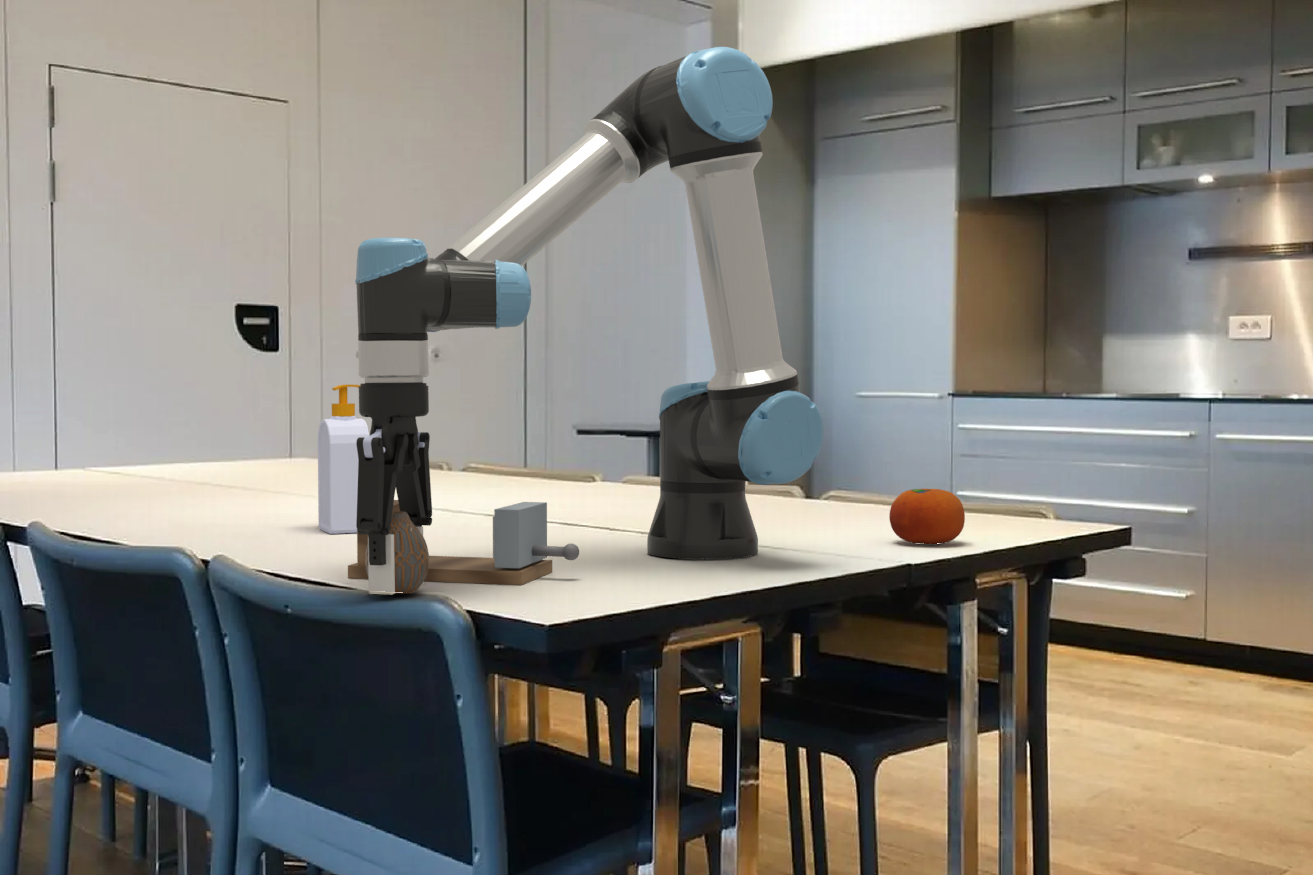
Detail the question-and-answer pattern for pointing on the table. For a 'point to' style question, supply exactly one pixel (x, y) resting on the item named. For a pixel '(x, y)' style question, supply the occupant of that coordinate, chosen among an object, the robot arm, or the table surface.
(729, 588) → the table surface
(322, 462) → the soap bottle
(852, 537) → the table surface
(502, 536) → the jaw
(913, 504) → the fruit
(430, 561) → the vise base
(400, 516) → the vase
